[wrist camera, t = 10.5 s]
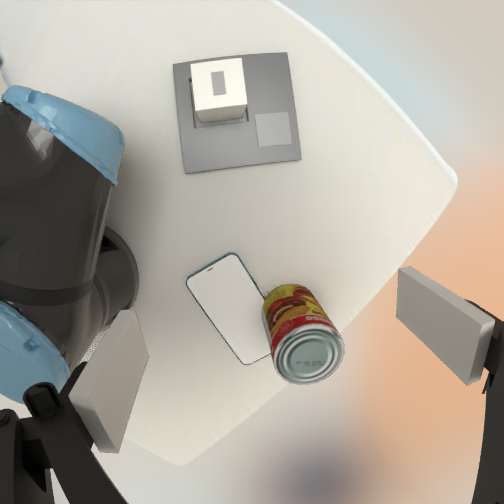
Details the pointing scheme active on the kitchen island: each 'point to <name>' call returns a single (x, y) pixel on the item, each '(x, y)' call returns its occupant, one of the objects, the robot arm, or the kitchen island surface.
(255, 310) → the smartphone
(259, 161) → the grey square base plate
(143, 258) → the kitchen island surface
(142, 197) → the kitchen island surface
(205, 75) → the block
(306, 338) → the canned food
